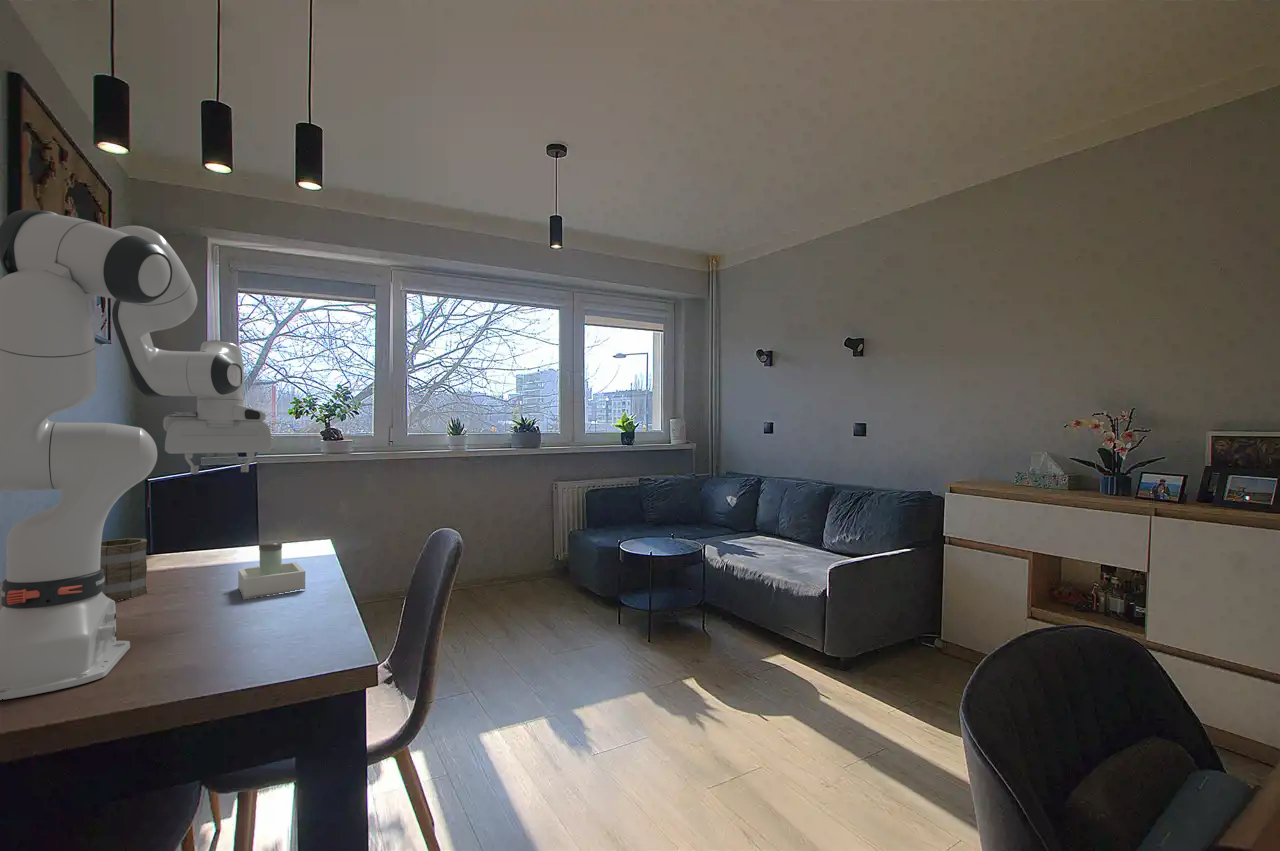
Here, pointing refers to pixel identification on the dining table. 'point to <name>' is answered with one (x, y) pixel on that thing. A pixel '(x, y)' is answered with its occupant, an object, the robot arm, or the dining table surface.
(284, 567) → the bin
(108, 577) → the mug
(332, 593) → the dining table surface
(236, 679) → the dining table surface
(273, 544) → the spice jar
